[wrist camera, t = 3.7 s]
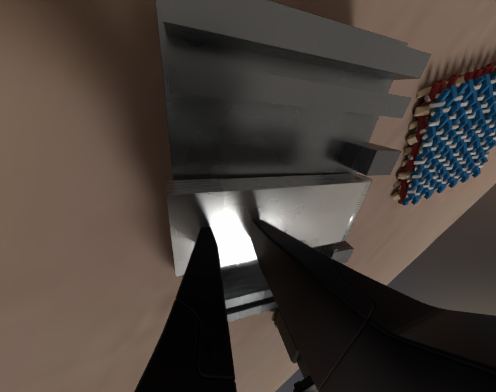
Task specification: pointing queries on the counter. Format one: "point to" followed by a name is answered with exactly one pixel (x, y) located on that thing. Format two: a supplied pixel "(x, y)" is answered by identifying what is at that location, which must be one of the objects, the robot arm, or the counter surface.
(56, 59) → the counter surface
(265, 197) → the gray block
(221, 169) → the heat sink
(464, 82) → the woven mat
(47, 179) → the counter surface
